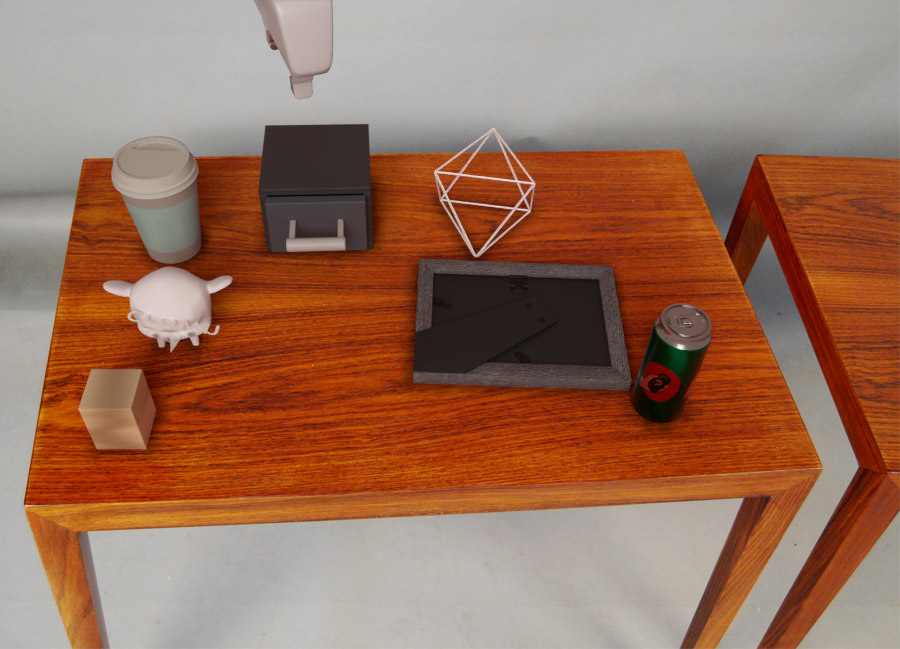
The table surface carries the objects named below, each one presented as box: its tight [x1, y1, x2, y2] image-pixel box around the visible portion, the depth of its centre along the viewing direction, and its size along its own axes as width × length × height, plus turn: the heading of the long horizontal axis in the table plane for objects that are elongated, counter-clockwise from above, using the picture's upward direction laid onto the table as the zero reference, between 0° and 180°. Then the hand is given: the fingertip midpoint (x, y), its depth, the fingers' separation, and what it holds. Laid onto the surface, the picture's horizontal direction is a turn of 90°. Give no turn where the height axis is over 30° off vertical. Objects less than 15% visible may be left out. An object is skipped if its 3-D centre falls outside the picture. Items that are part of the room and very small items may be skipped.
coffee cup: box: [110, 135, 203, 265], centre depth 90 cm, size 8×9×12 cm
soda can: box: [630, 303, 714, 424], centre depth 78 cm, size 5×5×12 cm
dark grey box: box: [258, 123, 374, 252], centre depth 96 cm, size 12×12×9 cm
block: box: [77, 368, 157, 450], centre depth 76 cm, size 4×4×6 cm
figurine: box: [102, 266, 234, 353], centre depth 83 cm, size 12×8×10 cm
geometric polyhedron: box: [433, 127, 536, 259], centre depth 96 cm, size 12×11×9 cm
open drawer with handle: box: [265, 194, 368, 253], centre depth 93 cm, size 15×10×7 cm
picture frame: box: [412, 258, 632, 392], centre depth 88 cm, size 16×2×21 cm
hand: (289, 69), depth 85 cm, fingers open, 8 cm apart
